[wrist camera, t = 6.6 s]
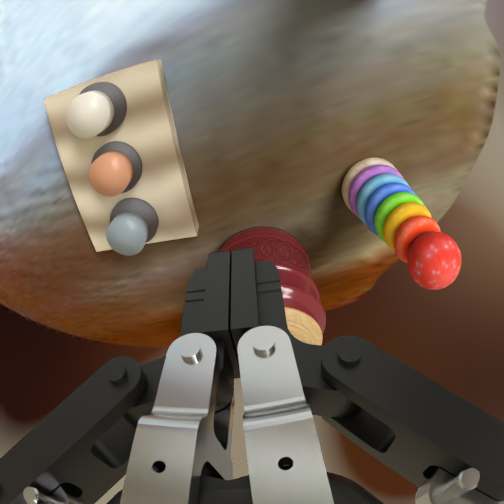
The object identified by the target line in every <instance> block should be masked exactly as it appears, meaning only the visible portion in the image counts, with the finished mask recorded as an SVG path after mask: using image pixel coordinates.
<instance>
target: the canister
mask: <svg viewBox="0 0 504 504" xmlns="http://www.w3.org/2000/svg"><path fill="white" fill-rule="evenodd" d="M246 248H254V253H255V260H256V262H260V261H268V260H271V261H272V262H273V264H274V265H275V266H276V267H277V268H278V270H279V276H280V283H281V289H282V295H283V301H284V308H285V314H286V321H287V326H288V329H289V331H290V333H291V334H292V335H293V336H294V337H295V338H296V339H298V340H300V341H302V342H304V343H307V344H312V345H321V344H322V334H323V332H324V329H325V325H326V315H325V311H324V309H323V307H322V305H321V303H320V294H319V291H318V288H317V286H316V285H315V282H314V279H313V275H312V272H311V264H310V260H309V257H308V255H307V252H306V251H305V249H304V248H303V246H302V245H301V244H300V242H299V241H298V240H297V239H296V238H295V237H293V236H292V235H291V234H289V233H287V232H285V231H283V230H280V229H277V228H272V227H255V228H250V229H246V230H243V231H241V232H239V233H237V234H235V235H233V236H232V237H231V238H229V239H228V240H227V241H226V242H225V243H224V244H223V246H222V247H221V249H220V250H219V252H224V251H231V252H232V250H239V249H246Z"/></svg>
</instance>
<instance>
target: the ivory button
mask: <svg viewBox="0 0 504 504" xmlns="http://www.w3.org/2000/svg"><path fill="white" fill-rule="evenodd" d="M113 116H114V107H113V103H112V101H111V99H110V98H109V97H108V96H107V95H106V94H105V93H103V92H101V91H96V90H94V91H89V92H86V93H83V94H80V95H78V96H76V97H75V98H74V99H72V101H71V102H70V103H69V105H68V107H67V110H66V123H67V126H68V128H69V129H70V131H71V132H72V133H73V134H74V135H76V136H77V137H80V138H84V139H87V138H92V137H94V136H96V135H98V134H99V133H101V132H102V131H104V130H105V129H106V128H107V127H108V126H109V125H110V123H111V122H112V119H113Z"/></svg>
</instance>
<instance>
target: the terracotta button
mask: <svg viewBox="0 0 504 504" xmlns="http://www.w3.org/2000/svg"><path fill="white" fill-rule="evenodd" d="M133 175H134V167H133V164H132V161H131V160H130V158H129V157H128V156H127V155H126V154H124V153H123V152H121V151H118V150H109V151H106V152H104V153H103V154H102V155H100V156H99V157H98V158H97V159H96V160H95V161H94V162H93V163H92V164H91V166H90V169H89V180H90V183H91V185H92V186H93V188H94V189H95V190H96V191H97V192H98V193H100V194H102V195H104V196H109V197H112V196H117V195H119V194H121V193H122V192H123V191H124V190H125V189H126V187H127V186H128V184H129V183H130V182H131V180H132V178H133Z"/></svg>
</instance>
